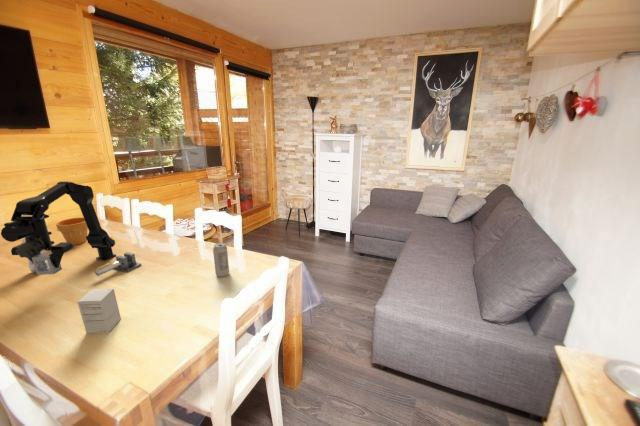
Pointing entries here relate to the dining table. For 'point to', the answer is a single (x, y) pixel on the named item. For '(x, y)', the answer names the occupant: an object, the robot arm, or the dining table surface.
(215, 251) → the energy drink can
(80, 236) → the flower pot
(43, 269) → the hollow rectangular metal block
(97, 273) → the shaft stand
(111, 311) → the supplement box
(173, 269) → the dining table surface
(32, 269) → the plastic bottle
